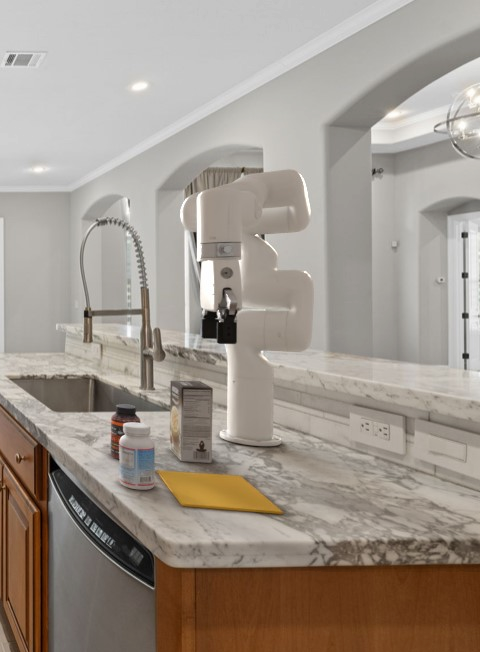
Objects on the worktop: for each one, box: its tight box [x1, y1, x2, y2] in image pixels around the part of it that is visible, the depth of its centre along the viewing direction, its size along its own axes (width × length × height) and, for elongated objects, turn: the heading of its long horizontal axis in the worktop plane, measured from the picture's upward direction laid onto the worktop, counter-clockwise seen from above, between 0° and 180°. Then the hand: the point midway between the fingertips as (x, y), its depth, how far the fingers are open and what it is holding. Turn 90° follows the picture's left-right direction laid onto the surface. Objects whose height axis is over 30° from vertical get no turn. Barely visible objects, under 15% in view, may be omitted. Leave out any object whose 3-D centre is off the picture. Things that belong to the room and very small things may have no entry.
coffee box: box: [169, 380, 214, 464], centre depth 119 cm, size 9×6×16 cm
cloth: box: [156, 469, 284, 515], centre depth 98 cm, size 18×15×1 cm
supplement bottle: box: [110, 403, 141, 460], centre depth 118 cm, size 6×6×11 cm
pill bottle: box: [118, 422, 156, 491], centre depth 101 cm, size 6×6×11 cm
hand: (218, 341), depth 106 cm, fingers open, 9 cm apart
